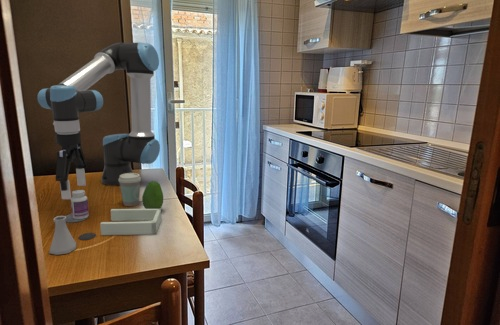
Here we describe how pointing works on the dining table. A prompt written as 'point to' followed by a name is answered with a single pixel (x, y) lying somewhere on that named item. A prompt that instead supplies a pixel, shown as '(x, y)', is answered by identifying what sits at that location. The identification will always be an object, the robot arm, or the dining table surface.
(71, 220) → the coaster
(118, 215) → the frame
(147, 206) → the fruit
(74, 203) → the pill bottle
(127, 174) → the coffee cup
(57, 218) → the flask
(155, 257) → the dining table surface
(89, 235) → the hole pad
